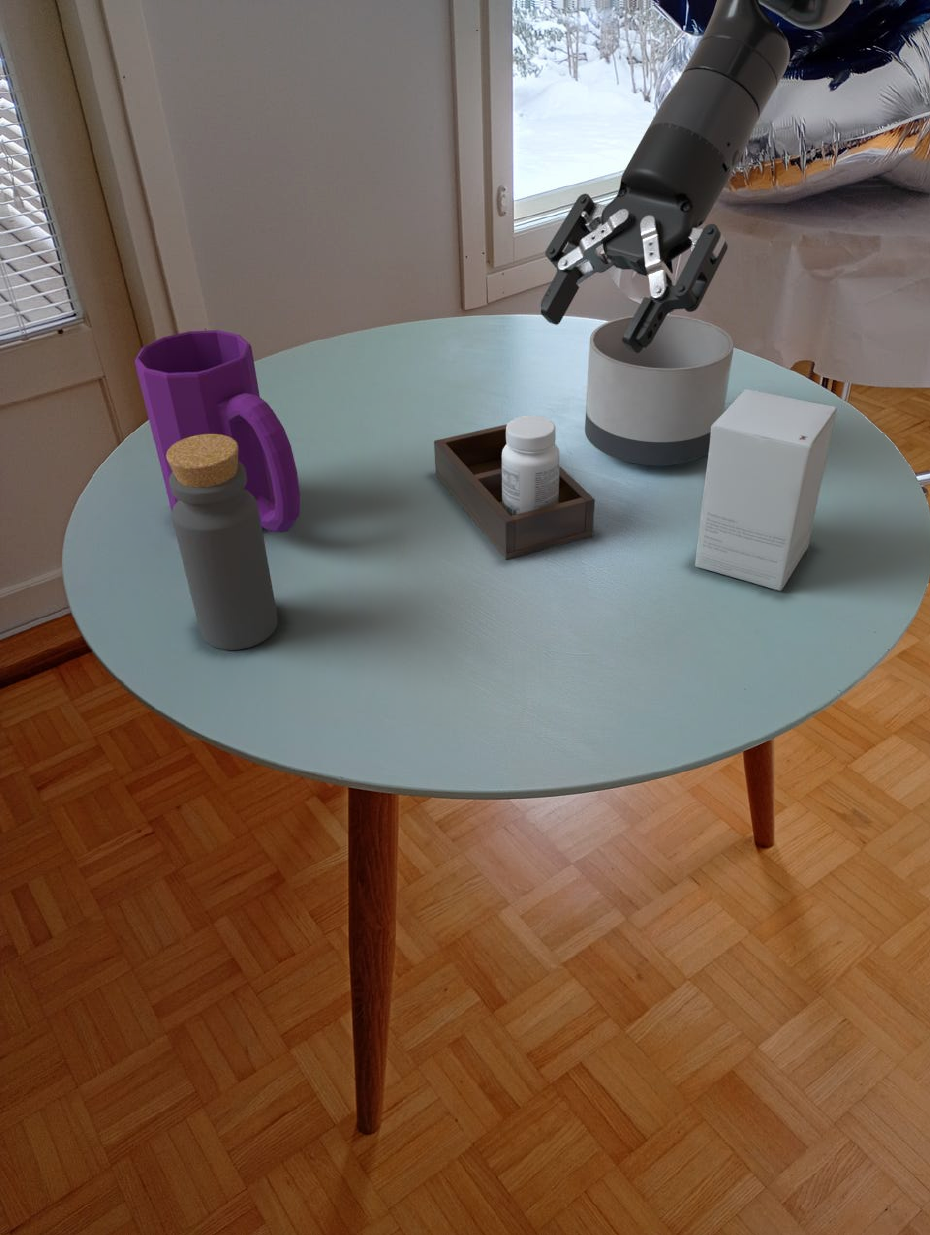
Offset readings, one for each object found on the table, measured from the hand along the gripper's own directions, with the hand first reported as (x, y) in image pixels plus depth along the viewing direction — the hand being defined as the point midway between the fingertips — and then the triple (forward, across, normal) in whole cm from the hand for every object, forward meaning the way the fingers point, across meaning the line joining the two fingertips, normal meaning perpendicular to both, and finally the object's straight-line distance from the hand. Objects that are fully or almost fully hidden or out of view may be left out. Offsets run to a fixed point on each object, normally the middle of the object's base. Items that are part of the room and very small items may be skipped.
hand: (587, 333), depth 79 cm
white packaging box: (+9, +16, +12) cm, 22 cm away
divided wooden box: (+14, -4, +7) cm, 16 cm away
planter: (+2, -1, +19) cm, 20 cm away
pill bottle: (+15, 0, +6) cm, 16 cm away
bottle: (+33, -6, -12) cm, 36 cm away
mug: (+27, -18, -6) cm, 33 cm away
